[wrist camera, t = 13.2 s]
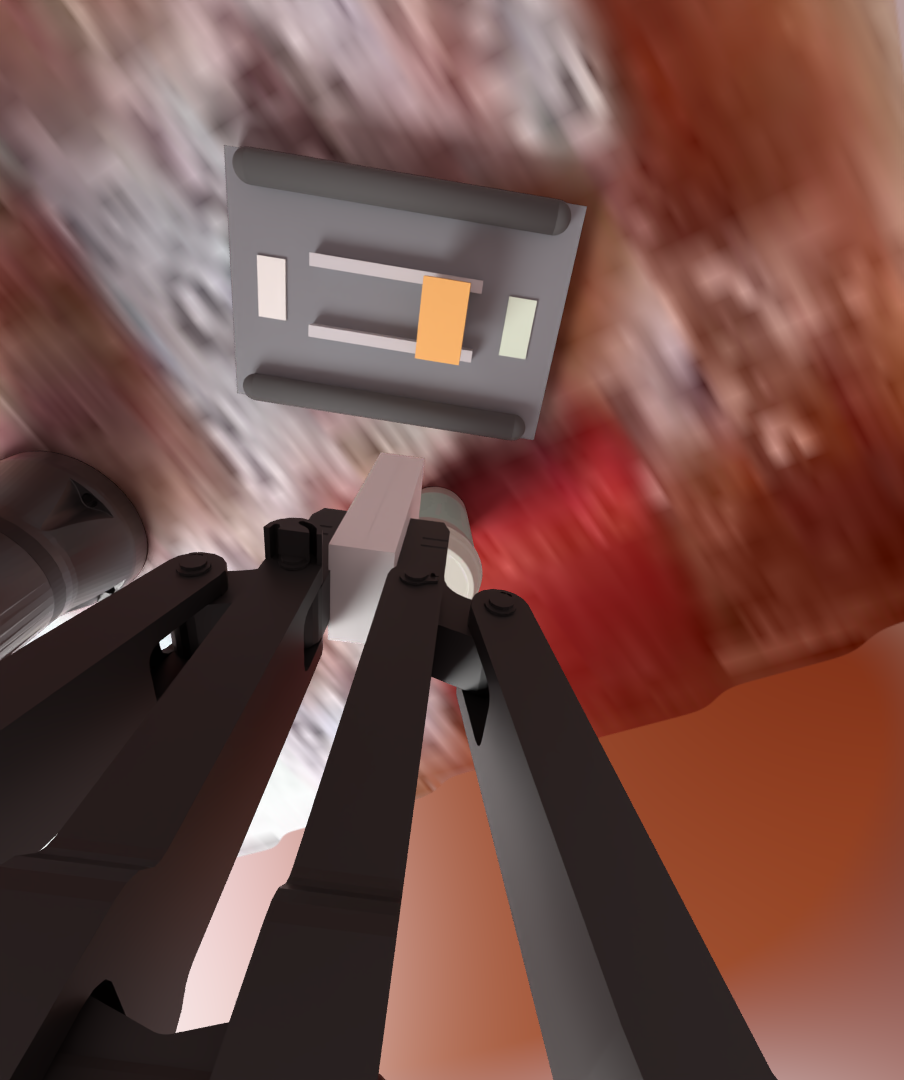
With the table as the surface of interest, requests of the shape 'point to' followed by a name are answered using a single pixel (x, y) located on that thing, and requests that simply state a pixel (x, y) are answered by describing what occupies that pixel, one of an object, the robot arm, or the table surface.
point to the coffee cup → (454, 539)
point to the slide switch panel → (392, 297)
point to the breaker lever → (442, 319)
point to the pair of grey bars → (405, 196)
